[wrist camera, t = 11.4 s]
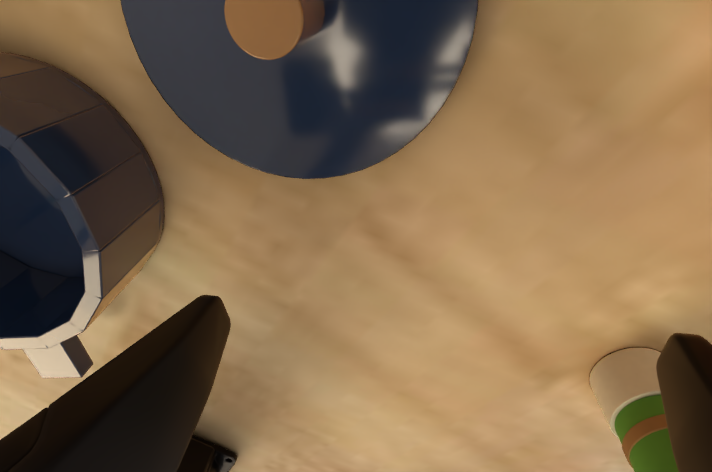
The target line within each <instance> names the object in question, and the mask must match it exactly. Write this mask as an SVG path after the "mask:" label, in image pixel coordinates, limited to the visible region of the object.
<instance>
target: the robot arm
mask: <svg viewBox="0 0 712 472" xmlns="http://www.w3.org/2000/svg"><path fill="white" fill-rule="evenodd" d="M230 326H231V323H230V318H229V316H228V313H227V311H226V309H225V306H224V304H223V302H222V300H221V298H220V297H218V296H211V295H202V296H199V297H198V298H196V299H195V300H194V301H192V302H191V303H190V304H188V305H187V306H185V307H184V308H183V309H181V310H180V311H178V312H177V313H176V314H174V315H173V316H172V317H170V318H169V319H167V320H166V321H165V322H163V323H162V324H161V325H159V326H158V327H156V328H155V329H154V330H152V331H151V332H150V333H148V334H147V335H145V336H144V337H143V338H141V339H140V340H139V341H137V342H136V343H134V344H133V345H132V346H130V347H129V348H127V349H126V350H125V351H123V352H122V353H121V354H119V355H118V356H116V357H115V358H114V359H112V360H111V361H110V362H108V363H107V364H105V365H104V366H103V367H101V368H100V369H99V370H97V371H96V372H94V373H93V374H92V375H90V376H89V377H87V378H86V379H85V380H83V381H82V382H81V383H79V384H78V385H76V386H75V387H74V388H72V389H71V390H70V391H68V392H67V393H65V394H64V395H63V396H61V397H60V398H59V399H57V400H56V401H54V402H53V403H52V404H50V405H49V408H45V409H43V410H42V411H40V412H39V413H38V414H36V415H35V416H34V417H32V418H31V419H29V420H28V421H27V422H25V423H24V424H22V425H21V426H20V427H18V428H17V429H15V430H14V431H12V432H11V433H10V434H8V435H7V436H5V437H4V438H2V439H1V440H0V472H229V470H230V469H231V468H232V466H233V465H234V464H235V462H236V459H237V455H236V454H235V453H234V452H232V451H229V450H227V449H225V448H222V447H220V446H218V445H215V444H213V443H211V442H208V441H206V440H204V439H201V438H199V437H197V436H194V435H193V433H194V430H195V428H196V425H197V423H198V421H199V418H200V416H201V414H202V411H203V409H204V407H205V404H206V402H207V400H208V397H209V395H210V392H211V389H212V386H213V383H214V380H215V377H216V374H217V370H218V367H219V364H220V361H221V357H222V354H223V351H224V348H225V344H226V341H227V338H228V335H229V331H230ZM656 371H657V377H658V382H659V387H660V392H661V397H662V402H663V407H664V412H665V417H666V422H667V427H668V432H669V437H670V442H671V446H672V451H673V455H674V458H675V461H676V465H677V468H678V471H679V472H712V344H710V343H709V342H708V341H707V340H706V339H704V338H703V337H701V336H699V335H694V334H682V333H674V334H673V335H671V336H670V338H669V339H668V341H667V343H666V345H665V347H664V348H663V350H662V352H661V354H660V356H659V358H658V360H657V364H656Z"/></svg>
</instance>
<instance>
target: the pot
mask: <svg viewBox="0 0 712 472" xmlns="http://www.w3.org/2000/svg"><path fill="white" fill-rule="evenodd" d="M163 223H164V200H163V195H162V189H161V185H160V182H159V179H158V176H157V172H156V170H155V168H154V166H153V163H152V161H151V159H150V157H149V155H148V153H147V151H146V150H145V148H144V146H143V145H142V143H141V141H140V140H139V138H138V137H137V136H136V134H135V133H134V131H133V130H132V129H131V127H130V126H129V125H128V124H127V122H126V121H125V120H124V119H123V118H122V117H121V116H120V115H119V113H118V112H117V111H116V110H115V109H114V108H113V107H112V106H111V105H110V104H108V103H107V102H106V101H105V100H104V99H103V98H102V97H101V96H100V95H98V94H97V93H96V92H94V91H93V90H92V89H90V88H89V87H88V86H87V85H85V84H84V83H82V82H81V81H79V80H77V79H76V78H74V77H73V76H71V75H69V74H68V73H66V72H64V71H62V70H60V69H58V68H56V67H54V66H52V65H49V64H47V63H44V62H41V61H39V60H36V59H33V58H30V57H26V56H22V55H17V54H13V53H4V52H0V349H4V350H14V349H23V351H24V352H25V354H26V355H27V357H28V358H29V360H30V361H31V363H32V364H33V366H34V367H35V368H36V370H37V371H38V373H39V374H40V376H41V377H42V378H73V377H83V376H84V374H85V373H86V372H87V371H88V370H89V368H90V367H91V366H92V365H93V362H92V360H91V358H90V357H89V355H88V353H87V351H86V350H85V348H84V346H83V345H82V343H81V341H80V340H79V338H78V336H77V335H78V334H80V333H82V332H84V331H85V330H86V329H87V328H88V326H89V325H90V324H91V323H92V322H93V321H94V320H95V319H96V318H97V317H98V316H99V315H100V314H101V313H102V311H103V310H104V309H105V308H106V307H107V306H108V305H109V304H110V303H111V302H112V301H113V300H114V299H115V298H116V296H117V295H118V294H119V293H120V292H121V291H122V290H123V289H124V288H125V287H126V286H127V285H128V284H129V283H130V281H131V280H132V279H133V278H134V277H135V276H136V275H137V274H138V273H139V272H140V271H141V269H142V268H143V266H144V265H145V263H146V261H147V260H148V259H149V258H150V256H151V255H152V254H153V252H154V251H155V249H156V247H157V245H158V243H159V241H160V237H161V234H162V230H163Z"/></svg>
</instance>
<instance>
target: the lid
mask: <svg viewBox="0 0 712 472" xmlns="http://www.w3.org/2000/svg"><path fill="white" fill-rule="evenodd" d="M121 5H122V11H123V14H124V17H125V21H126V24H127V27H128V31H129V34H130V37H131V39H132V42H133V44H134V47H135V49H136V52H137V54H138V56H139V59H140V61H141V63H142V64H143V66H144V68H145V70H146V72H147V74H148V76H149V77H150V79H151V81H152V83H153V84H154V85H155V87H156V88H157V90H158V91H159V93H160V94H161V96H162V97H163V99H164V100H165V101H166V103H167V104H168V105H169V106H170V107H171V109H172V110H173V111H174V112H175V113H176V115H177V116H178V117H179V118H180V119H181V120H182V121H183V122H184V123H185V124H186V125H187V126H188V127H189V128H190V129H191V130H192V131H193V132H194V133H195V134H197V135H198V136H199V137H200V138H202V139H203V140H204V141H206V142H207V143H208V144H209V145H211V146H212V147H214V148H215V149H217V150H218V151H220V152H222V153H223V154H225V155H226V156H228V157H230V158H232V159H234V160H236V161H238V162H240V163H242V164H244V165H246V166H248V167H251V168H254V169H257V170H260V171H263V172H266V173H270V174H274V175H279V176H284V177H291V178H302V179H316V178H329V177H336V176H342V175H346V174H350V173H353V172H357V171H360V170H363V169H365V168H368V167H370V166H372V165H374V164H377V163H379V162H381V161H383V160H384V159H386V158H388V157H389V156H391V155H393V154H394V153H396V152H398V151H399V150H400V149H402V148H403V147H404V146H405V145H407V144H408V143H409V142H411V141H412V140H413V139H414V138H415V137H416V136H417V135H418V134H419V133H420V132H421V131H422V130H423V129H424V128H425V127H426V126H427V125H428V124H429V123H430V122H431V121H432V119H433V118H434V117H435V115H436V114H437V113H438V111H439V110H440V109H441V108H442V106H443V105H444V103H445V101H446V100H447V98H448V96H449V95H450V93H451V91H452V90H453V88H454V86H455V84H456V82H457V80H458V78H459V75H460V73H461V71H462V68H463V66H464V64H465V61H466V58H467V55H468V51H469V48H470V45H471V42H472V38H473V34H474V28H475V22H476V17H477V11H478V0H121Z"/></svg>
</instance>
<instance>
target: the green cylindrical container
mask: <svg viewBox="0 0 712 472" xmlns="http://www.w3.org/2000/svg"><path fill="white" fill-rule="evenodd" d="M660 354H661V352H659V351H656V350H653V349H649V348H628V349H623V350H619V351H616V352H614V353H611V354H609V355H607V356H606V357H604V358H603V359H601V360H600V361H599V362H598V363H597V364H596V365H595V366H594V368H593V369H592V371H591V373H590V378H589V382H590V386H591V388H592V391H593V393H594V395H595V397H596V399H597V401H598V404H599V406H600V408H601V410H602V412H603V414H604V417H605V419H606V421H607V423H608V425H609V427H610V429H611V431H612V433H613V434H614V435H615V436H616V437H617V438H618V439H620V441H621V443H622V448H623V452H624V454H625V456H626V458H627V460H628V462H629V464H630V465H631V467H632V468H633V469H634V471H635V472H679V471H678V468H677V465H676V461H675V458H674V455H673V451H672V446H671V442H670V437H669V432H668V427H667V422H666V417H665V412H664V407H663V402H662V397H661V392H660V387H659V382H658V377H657V371H656V364H657V360H658V358H659V356H660Z"/></svg>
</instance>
